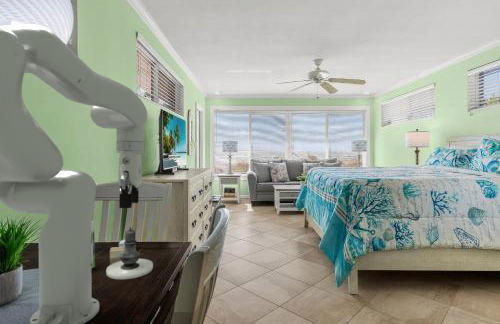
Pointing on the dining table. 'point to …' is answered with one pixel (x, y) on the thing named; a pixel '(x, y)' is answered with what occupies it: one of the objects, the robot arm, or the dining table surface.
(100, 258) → the dining table surface
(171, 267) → the dining table surface
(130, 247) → the dark grey tall piece
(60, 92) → the robot arm
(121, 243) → the blue-grey block
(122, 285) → the dining table surface
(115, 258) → the birch block
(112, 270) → the cream plate
